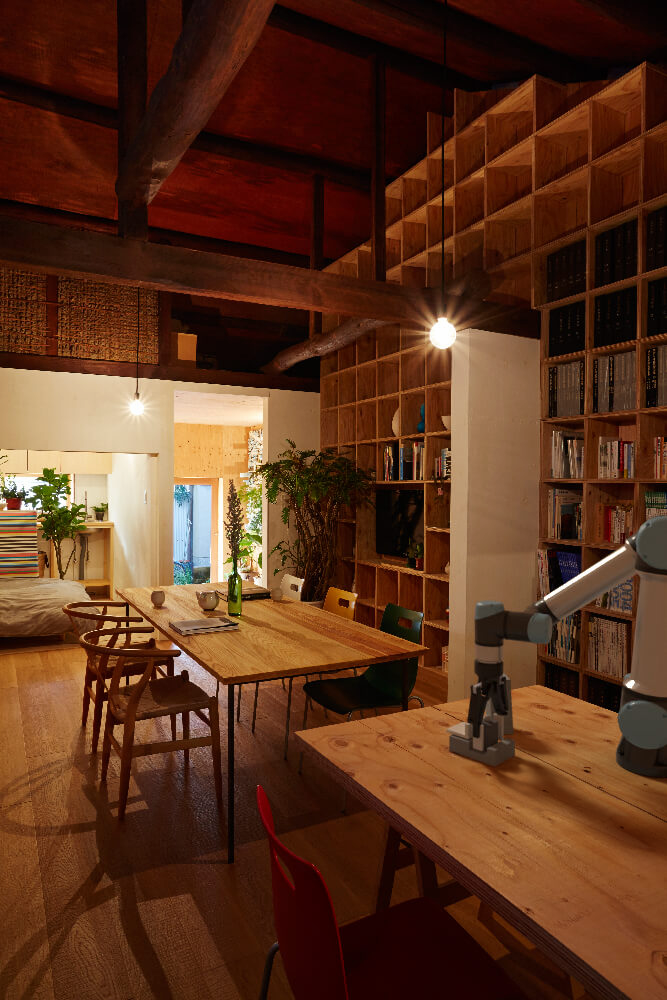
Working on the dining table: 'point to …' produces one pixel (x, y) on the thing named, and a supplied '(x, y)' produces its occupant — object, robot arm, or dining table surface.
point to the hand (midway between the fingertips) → (488, 743)
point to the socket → (491, 757)
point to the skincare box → (509, 718)
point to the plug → (489, 732)
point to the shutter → (462, 730)
